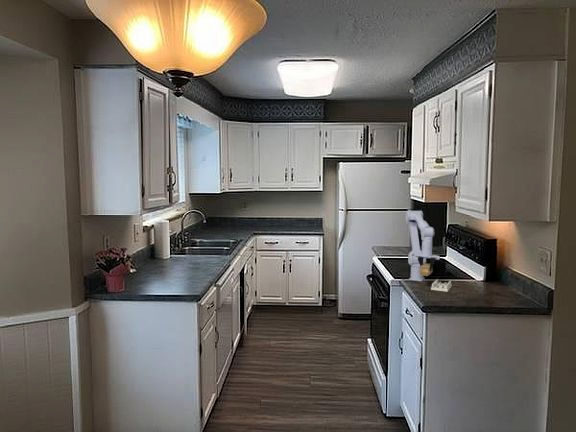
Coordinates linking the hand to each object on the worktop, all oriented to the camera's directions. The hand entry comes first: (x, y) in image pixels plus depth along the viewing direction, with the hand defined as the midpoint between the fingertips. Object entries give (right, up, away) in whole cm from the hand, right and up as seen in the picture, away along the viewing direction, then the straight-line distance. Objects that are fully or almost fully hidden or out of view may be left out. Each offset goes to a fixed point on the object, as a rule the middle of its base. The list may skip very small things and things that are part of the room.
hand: (426, 270), depth 266 cm
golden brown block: (0, -2, 0) cm, 2 cm away
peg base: (+8, -10, -3) cm, 13 cm away
